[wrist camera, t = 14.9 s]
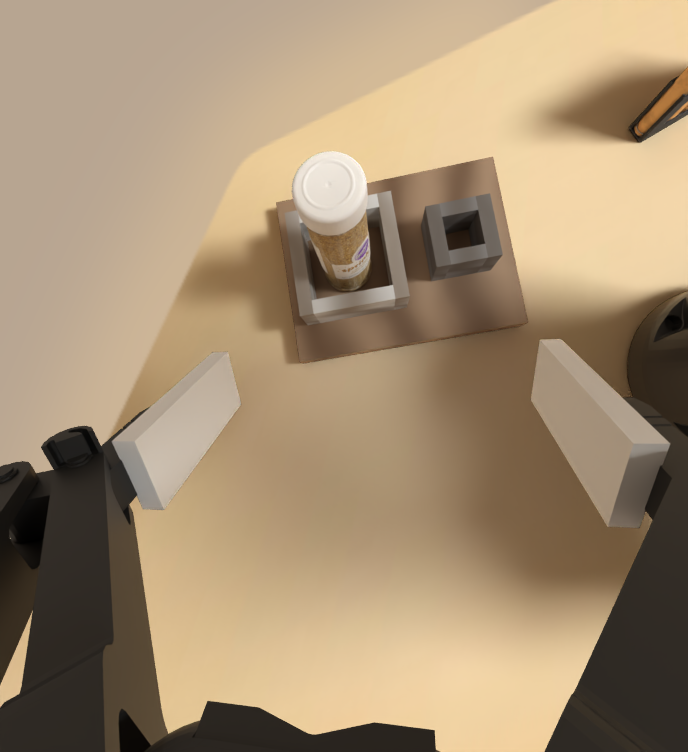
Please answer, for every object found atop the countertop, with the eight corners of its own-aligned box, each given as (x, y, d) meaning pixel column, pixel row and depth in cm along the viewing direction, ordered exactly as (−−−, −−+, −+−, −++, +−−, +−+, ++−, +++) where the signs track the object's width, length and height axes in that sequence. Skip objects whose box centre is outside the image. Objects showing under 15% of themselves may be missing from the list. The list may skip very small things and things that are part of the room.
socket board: (488, 167, 36) (505, 128, 31) (521, 325, 34) (545, 312, 30) (280, 210, 38) (265, 181, 33) (302, 363, 36) (290, 356, 31)
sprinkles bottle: (363, 298, 35) (351, 230, 21) (318, 284, 35) (279, 209, 22) (379, 253, 35) (377, 158, 22) (333, 240, 35) (304, 139, 22)
